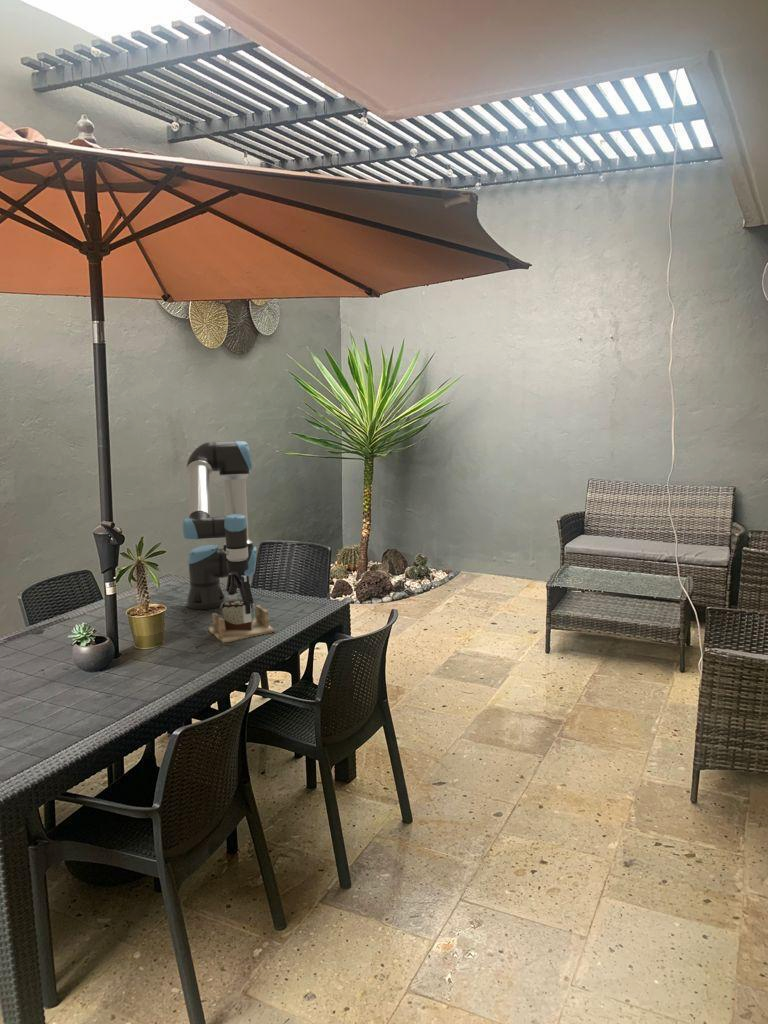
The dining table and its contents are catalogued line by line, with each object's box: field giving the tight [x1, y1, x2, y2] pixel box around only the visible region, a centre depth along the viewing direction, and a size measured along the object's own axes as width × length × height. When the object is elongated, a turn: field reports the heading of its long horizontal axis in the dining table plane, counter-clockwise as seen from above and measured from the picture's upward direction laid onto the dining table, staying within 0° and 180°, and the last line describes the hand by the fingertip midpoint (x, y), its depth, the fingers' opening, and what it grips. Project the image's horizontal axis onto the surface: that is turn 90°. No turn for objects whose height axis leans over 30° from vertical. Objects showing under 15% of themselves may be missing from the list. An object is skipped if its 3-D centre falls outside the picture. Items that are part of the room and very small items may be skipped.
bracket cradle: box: [207, 604, 276, 644], centre depth 260 cm, size 16×19×7 cm
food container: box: [219, 598, 256, 631], centre depth 261 cm, size 12×6×10 cm, turn 86°
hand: (240, 617), depth 260 cm, fingers open, 13 cm apart
